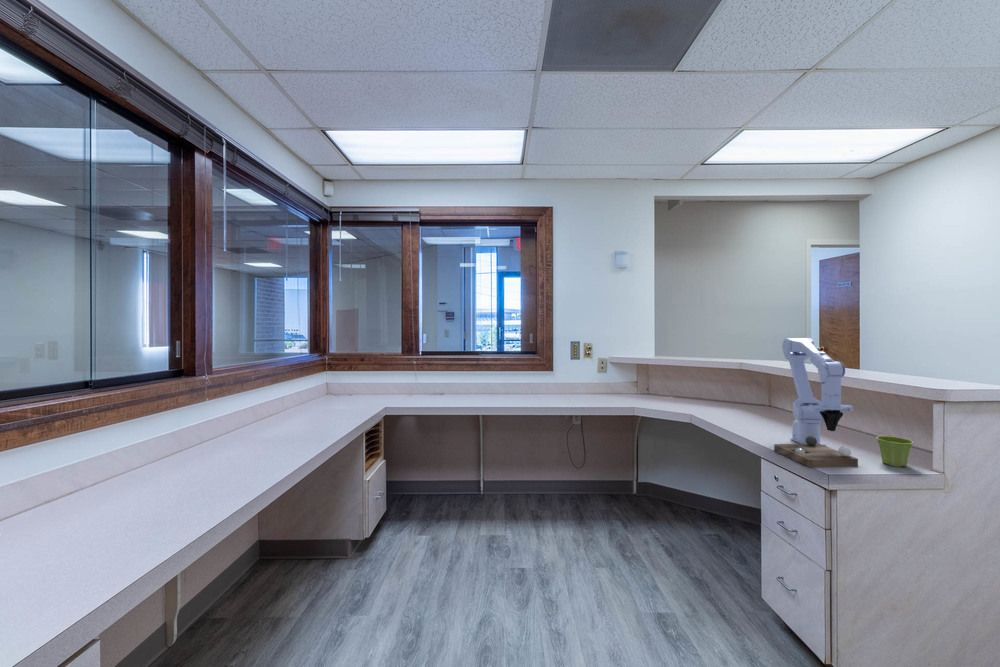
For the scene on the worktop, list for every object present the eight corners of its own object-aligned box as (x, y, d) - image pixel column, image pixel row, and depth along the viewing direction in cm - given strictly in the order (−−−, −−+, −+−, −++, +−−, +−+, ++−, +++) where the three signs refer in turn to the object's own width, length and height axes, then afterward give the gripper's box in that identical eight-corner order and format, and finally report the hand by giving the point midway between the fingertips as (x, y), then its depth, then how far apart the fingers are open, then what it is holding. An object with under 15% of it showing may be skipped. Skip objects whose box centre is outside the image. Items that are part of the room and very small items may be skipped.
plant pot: (875, 457, 150) (875, 434, 150) (911, 463, 144) (911, 438, 144) (876, 465, 143) (877, 440, 142) (915, 471, 137) (915, 445, 136)
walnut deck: (774, 450, 160) (774, 444, 160) (817, 449, 160) (817, 443, 160) (808, 467, 142) (808, 459, 142) (857, 465, 142) (857, 458, 142)
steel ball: (795, 444, 153) (801, 451, 154) (790, 452, 153) (795, 458, 154) (804, 447, 150) (810, 454, 151) (798, 455, 150) (804, 461, 150)
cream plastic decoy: (835, 455, 147) (835, 445, 146) (845, 454, 147) (845, 445, 146) (843, 458, 143) (843, 448, 143) (853, 458, 143) (853, 448, 143)
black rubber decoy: (803, 444, 160) (803, 435, 159) (812, 443, 160) (812, 434, 159) (810, 446, 156) (810, 437, 156) (819, 446, 156) (819, 437, 156)
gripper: (819, 396, 149) (819, 433, 149) (860, 395, 149) (859, 432, 149) (805, 393, 156) (805, 428, 156) (843, 392, 156) (843, 427, 156)
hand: (831, 430), depth 153 cm, fingers closed
